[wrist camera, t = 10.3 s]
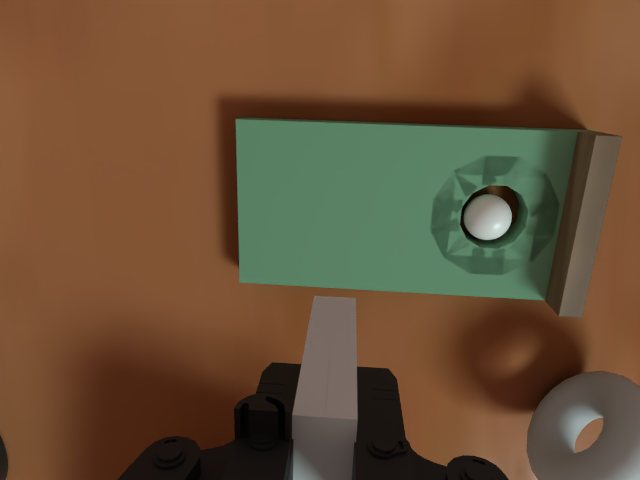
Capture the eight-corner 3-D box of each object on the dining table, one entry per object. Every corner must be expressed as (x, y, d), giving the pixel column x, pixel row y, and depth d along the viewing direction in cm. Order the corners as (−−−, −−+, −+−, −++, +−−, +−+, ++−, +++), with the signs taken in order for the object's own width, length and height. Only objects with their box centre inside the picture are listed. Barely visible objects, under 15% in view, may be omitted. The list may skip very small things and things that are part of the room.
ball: (501, 251, 32) (514, 233, 35) (506, 208, 31) (520, 191, 33) (455, 241, 34) (470, 224, 36) (458, 200, 32) (474, 184, 35)
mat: (245, 272, 38) (239, 282, 36) (242, 117, 34) (235, 119, 32) (555, 290, 36) (566, 301, 35) (587, 129, 33) (601, 132, 31)
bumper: (545, 300, 35) (558, 316, 32) (577, 131, 31) (596, 135, 29) (566, 301, 35) (581, 317, 32) (601, 132, 31) (622, 136, 28)
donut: (592, 338, 37) (671, 424, 28) (623, 363, 38) (711, 456, 28) (501, 419, 40) (544, 521, 31) (531, 441, 41) (583, 549, 31)
